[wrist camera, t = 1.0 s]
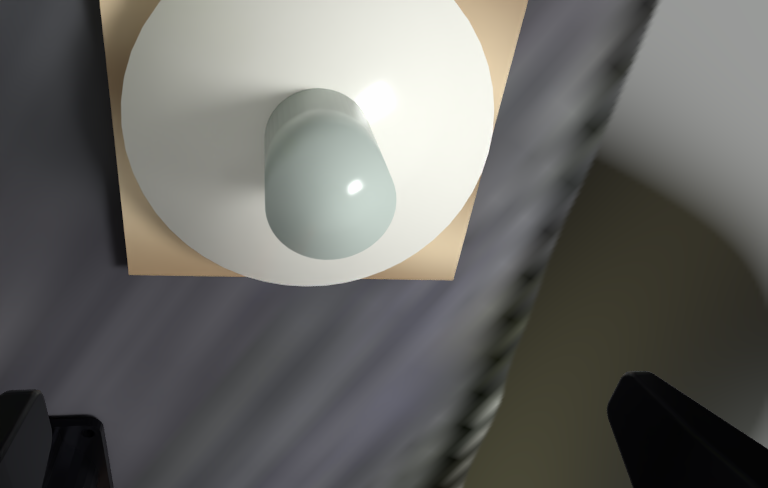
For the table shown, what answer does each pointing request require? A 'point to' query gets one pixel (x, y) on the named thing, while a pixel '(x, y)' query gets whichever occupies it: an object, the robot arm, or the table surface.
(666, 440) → the robot arm
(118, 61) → the mat
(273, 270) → the lid
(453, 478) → the table surface
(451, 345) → the table surface
